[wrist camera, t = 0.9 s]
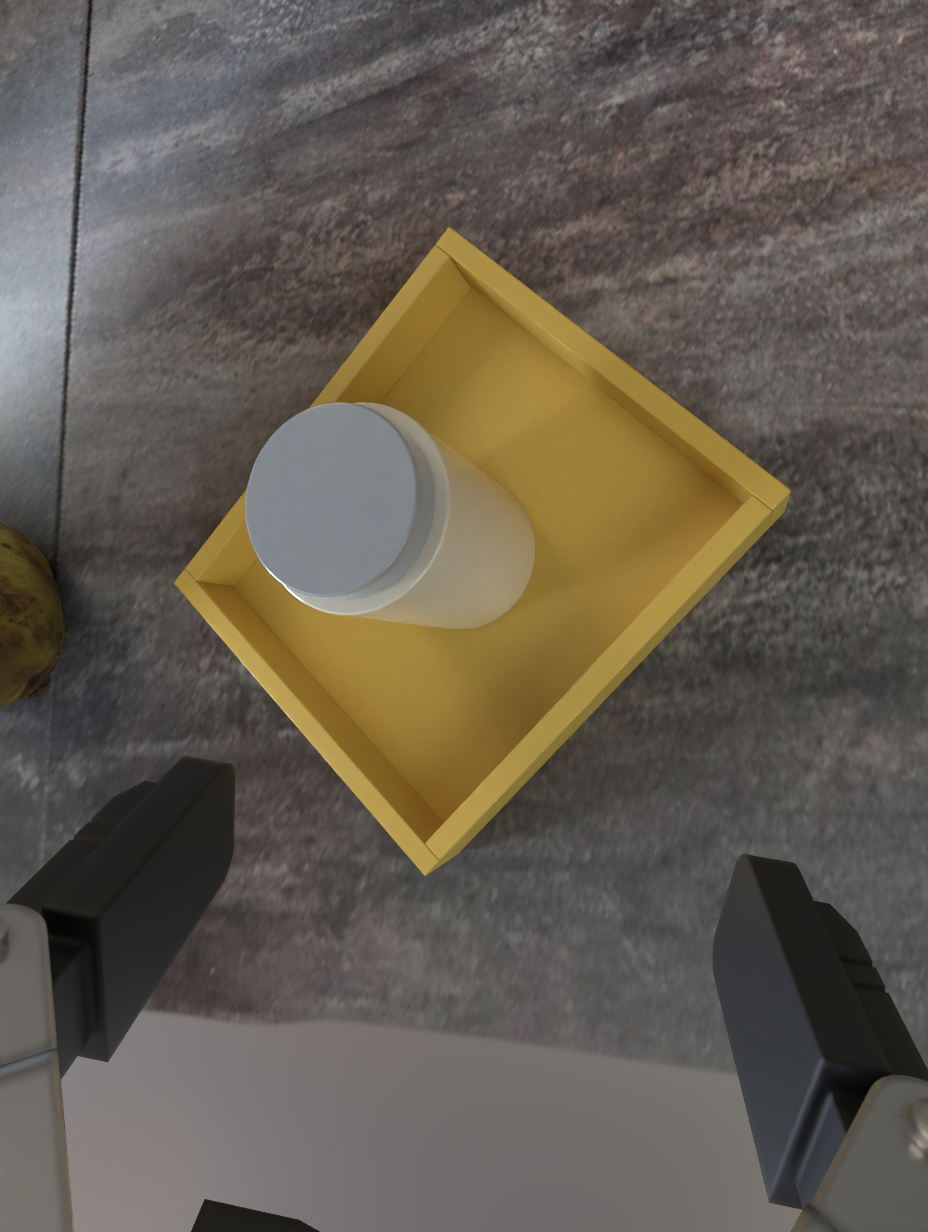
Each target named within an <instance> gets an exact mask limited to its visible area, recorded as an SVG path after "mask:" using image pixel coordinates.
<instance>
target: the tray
mask: <svg viewBox="0 0 928 1232" xmlns="http://www.w3.org/2000/svg"><path fill="white" fill-rule="evenodd" d="M436 245H437V246H436ZM436 245H435V246H434V247H433V248H432V250H431V251H430V252H429V253H428V255H427V256H426V257H425V259H424V260H423V261H422V263H421V264H420V265H419V266H418V268H417V269H416V270H415V272H414V273H413V274H412V275H411V277H410V278H409V279H408V281H407V282H406V283H405V285H404V286H403V287H402V288H401V290H400V291H399V292H398V294H397V295H396V296H395V297H394V299H393V300H392V301H391V303H390V304H389V305H388V307H387V308H386V309H385V310H384V312H383V313H382V314H381V316H380V317H379V318H378V320H377V321H376V322H375V323H374V325H373V326H372V327H371V329H370V330H369V331H368V332H367V334H366V335H365V336H364V338H363V339H362V340H361V342H360V343H359V344H358V345H357V347H356V348H355V349H354V351H353V352H352V353H351V354H350V356H349V357H348V358H347V360H346V361H345V362H344V364H343V365H342V366H341V367H340V369H339V370H338V371H337V373H336V374H335V375H334V376H333V378H332V379H331V380H330V382H329V383H328V384H327V386H326V387H325V388H324V389H323V391H322V392H321V393H320V395H319V396H318V397H317V398H316V400H315V401H314V402H313V404H312V405H311V406H310V408H311V407H314V406H317V405H321V404H325V403H333V402H348V403H357V402H370V403H378V404H383V405H387V406H390V407H392V408H395V409H398V410H400V411H401V412H403V413H405V414H407V415H409V416H410V417H411V418H413V419H414V420H415V421H417V422H418V423H419V424H421V425H422V426H423V427H425V428H426V429H427V430H428V431H430V432H431V433H432V434H434V435H435V436H436V437H438V438H439V439H440V440H442V441H443V442H444V443H446V444H447V445H448V446H450V447H451V448H452V449H453V450H455V451H456V452H457V453H459V454H460V455H461V456H463V457H464V458H465V459H467V460H468V461H469V462H471V463H472V464H473V465H474V466H476V467H477V468H478V469H480V470H481V471H482V472H484V473H485V474H486V475H488V476H489V477H490V478H492V479H493V480H494V481H495V482H497V483H498V484H499V485H501V486H502V487H503V488H505V489H506V490H507V491H509V492H510V493H511V494H512V495H513V496H514V497H515V498H516V499H517V500H518V501H519V502H520V504H521V505H522V507H523V508H524V510H525V511H526V513H527V515H528V517H529V520H530V522H531V525H532V528H533V532H534V537H535V561H534V567H533V571H532V574H531V577H530V580H529V582H528V584H527V587H526V589H525V590H524V592H523V594H522V595H521V597H520V598H519V599H518V601H517V602H516V603H515V604H514V605H513V606H512V607H511V608H510V609H509V610H508V611H507V612H506V613H505V614H503V615H502V616H501V617H499V618H498V619H496V620H494V621H493V622H491V623H489V624H486V625H484V626H481V627H477V628H473V629H466V630H451V629H444V628H436V627H428V626H420V625H412V624H405V623H397V622H389V621H381V620H374V619H366V618H358V617H350V616H343V615H336V614H330V613H326V612H323V611H320V610H317V609H314V608H312V607H310V606H308V605H306V604H304V603H303V602H302V601H300V600H299V599H297V598H296V597H294V596H293V595H292V594H291V593H290V592H289V591H288V590H287V589H286V588H285V587H284V585H283V584H282V583H280V582H279V581H278V580H277V579H276V578H274V577H273V576H272V575H271V574H270V573H269V572H268V570H267V569H266V568H265V567H264V565H263V564H262V563H261V561H260V559H259V558H258V556H257V554H256V552H255V550H254V548H253V546H252V543H251V540H250V537H249V533H248V529H247V523H246V512H245V504H246V492H247V489H246V490H245V492H244V493H243V494H242V496H241V497H240V498H239V499H238V501H237V502H236V503H235V505H234V506H233V507H232V509H231V510H230V511H229V512H228V514H227V515H226V516H225V518H224V519H223V520H222V521H221V523H220V524H219V525H218V527H217V528H216V529H215V531H214V532H213V533H212V534H211V536H210V537H209V538H208V540H207V541H206V542H205V544H204V545H203V546H202V547H201V549H200V550H199V551H198V553H197V554H196V555H195V556H194V558H193V559H192V560H191V562H190V563H189V564H188V566H187V567H186V569H184V570H183V572H182V573H181V574H180V576H179V577H178V578H177V580H176V581H175V582H174V584H175V585H176V586H177V587H178V588H179V590H180V591H181V592H182V593H183V594H184V595H185V597H186V598H187V599H188V600H189V601H190V602H191V604H192V605H193V606H194V607H195V608H196V609H197V611H198V612H199V613H200V614H201V615H202V616H203V618H204V619H205V620H206V621H207V622H208V623H209V625H210V626H211V627H212V628H213V629H214V630H215V632H216V633H217V634H218V635H219V636H220V637H221V639H222V640H223V641H224V642H225V643H226V644H227V646H228V647H229V648H230V649H231V650H232V651H233V653H234V654H235V655H236V656H237V657H238V658H239V660H240V661H241V662H242V663H243V664H244V665H245V667H246V668H247V669H248V670H249V671H250V672H251V674H252V675H253V676H254V677H255V678H256V679H257V681H258V682H259V683H260V684H261V685H262V686H263V688H264V689H265V690H266V691H267V692H268V693H269V695H270V696H271V697H272V698H273V699H274V700H275V702H276V703H277V704H278V705H279V706H280V707H281V709H282V710H283V711H284V712H285V713H286V714H287V715H288V717H289V718H290V719H291V720H292V721H293V722H294V724H295V725H296V726H297V727H298V728H299V729H300V731H301V732H302V733H303V734H304V735H305V736H306V738H307V739H308V740H309V741H310V742H311V743H312V745H313V746H314V747H315V748H316V749H317V750H318V752H319V753H320V754H321V755H322V756H323V757H324V759H325V760H326V761H327V762H328V763H329V764H330V766H331V767H332V768H333V769H334V770H335V771H336V773H337V774H338V775H339V776H340V777H341V778H342V780H343V781H344V782H345V783H346V784H347V785H348V787H349V788H350V789H351V790H352V791H353V792H354V794H355V795H356V796H357V797H358V798H359V799H360V801H361V802H362V803H363V804H364V805H365V806H366V808H367V809H368V810H369V811H370V812H371V813H372V815H373V816H374V817H375V818H376V819H377V820H378V822H379V823H380V824H381V825H382V826H383V827H384V829H385V830H386V831H387V832H388V833H389V834H390V836H391V837H392V838H393V839H394V840H395V841H396V842H397V844H398V845H399V846H400V847H401V848H402V849H403V851H404V852H405V853H406V854H407V855H408V856H409V858H410V859H411V860H412V861H413V862H414V863H415V865H416V866H417V867H418V868H419V869H420V870H421V872H422V873H423V874H424V875H425V876H426V875H427V874H429V873H430V872H432V871H433V870H435V869H436V868H438V867H439V866H441V865H442V864H444V863H445V862H447V861H448V860H450V859H451V858H452V857H454V856H455V855H457V854H458V853H459V852H460V851H461V850H462V849H463V848H464V847H465V846H466V845H467V844H468V843H469V842H470V841H471V840H472V839H473V838H474V837H475V836H476V835H477V834H478V833H479V832H480V830H481V829H482V828H483V827H484V826H485V825H486V824H487V823H488V822H489V821H490V820H491V819H492V818H493V817H494V816H495V815H496V814H497V813H498V812H499V811H500V809H501V808H502V807H503V806H504V805H505V804H506V803H507V802H508V801H509V800H510V799H511V798H512V797H513V796H514V795H515V794H516V793H517V792H518V791H519V790H520V789H521V787H522V786H523V785H524V784H525V783H526V782H527V781H528V780H529V779H530V778H531V777H532V776H533V775H534V774H535V773H536V772H537V771H538V770H539V769H540V768H541V767H542V765H543V764H544V763H545V762H546V761H547V760H548V759H549V758H550V757H551V756H552V755H553V754H554V753H555V752H556V751H557V750H558V749H559V748H560V747H561V746H562V745H563V743H564V742H565V741H566V740H567V739H568V738H569V737H570V736H571V735H572V734H573V733H574V732H575V731H576V730H577V729H578V728H579V727H580V726H581V725H582V724H583V723H584V721H585V720H586V719H587V718H588V717H589V716H590V715H591V714H592V713H593V712H594V711H595V710H596V709H597V708H598V707H599V706H600V705H601V704H602V703H603V702H604V701H605V699H606V698H607V697H608V696H609V695H610V694H611V693H612V692H613V691H614V690H615V689H616V688H617V687H618V686H619V685H620V684H621V683H622V682H623V681H624V680H625V679H626V677H627V676H628V675H629V674H630V673H631V672H632V671H633V670H634V669H635V668H636V667H637V666H638V665H639V664H640V663H641V662H642V661H643V660H644V659H645V658H646V656H647V655H648V654H649V653H650V652H651V651H652V650H653V649H654V648H655V647H656V646H657V645H658V644H659V643H660V642H661V641H662V640H663V639H664V638H665V637H666V636H667V634H668V633H669V632H670V631H671V630H672V629H673V628H674V627H675V626H676V625H677V624H678V623H679V622H680V621H681V620H682V619H683V618H684V617H685V616H686V615H687V614H688V612H689V611H690V610H691V609H692V608H693V607H694V606H695V605H696V604H697V603H698V602H699V601H700V600H701V599H702V598H703V597H704V596H705V595H706V594H707V593H708V592H709V590H710V589H711V588H712V587H713V586H714V585H715V584H716V583H717V582H718V581H719V580H720V579H721V578H722V577H723V576H724V575H725V574H726V573H727V572H728V571H729V570H730V568H731V567H732V566H733V565H734V564H735V563H736V562H737V561H738V560H739V559H740V558H741V557H742V556H743V555H744V554H745V553H746V552H747V551H748V550H749V549H750V548H751V546H752V545H753V544H754V543H755V542H756V541H757V540H758V539H759V538H760V537H761V536H762V535H763V534H764V533H765V532H766V531H767V530H768V529H769V528H770V527H771V526H772V524H773V523H774V522H775V521H776V520H777V519H778V518H779V517H780V516H781V515H782V514H783V513H784V511H785V508H786V506H787V502H788V499H789V495H790V492H791V490H790V489H789V488H788V487H786V486H785V485H784V484H782V483H781V482H780V481H779V480H777V479H776V478H775V477H773V476H772V475H771V474H769V473H768V472H767V471H766V470H764V469H763V468H762V467H760V466H759V465H758V464H756V463H755V462H754V461H753V460H751V459H750V458H749V457H747V456H746V455H745V454H744V453H742V452H741V451H740V450H738V449H737V448H736V447H734V446H733V445H732V444H731V443H729V442H728V441H727V440H725V439H724V438H723V437H721V436H720V435H719V434H718V433H716V432H715V431H714V430H712V429H711V428H710V427H709V426H707V425H706V424H705V423H703V422H702V421H701V420H699V419H698V418H697V417H696V416H694V415H693V414H692V413H690V412H689V411H688V410H686V409H685V408H684V407H683V406H681V405H680V404H679V403H677V402H676V401H675V400H674V399H672V398H671V397H670V396H668V395H667V394H666V393H664V392H663V391H662V390H661V389H659V388H658V387H657V386H655V385H654V384H653V383H651V382H650V381H649V380H648V379H646V378H645V377H644V376H642V375H641V374H640V373H639V372H637V371H636V370H635V369H633V368H632V367H631V366H629V365H628V364H627V363H626V362H624V361H623V360H622V359H620V358H619V357H618V356H616V355H615V354H614V353H613V352H611V351H610V350H609V349H607V348H606V347H605V346H604V345H602V344H601V343H600V342H598V341H597V340H596V339H594V338H593V337H592V336H591V335H589V334H588V333H587V332H585V331H584V330H583V329H581V328H580V327H579V326H578V325H576V324H575V323H574V322H572V321H571V320H570V319H569V318H567V317H566V316H565V315H563V314H562V313H561V312H559V311H558V310H557V309H556V308H554V307H553V306H552V305H550V304H549V303H548V302H546V301H545V300H544V299H543V298H541V297H540V296H539V295H537V294H536V293H535V292H534V291H532V290H531V289H530V288H528V287H527V286H526V285H524V284H523V283H522V282H521V281H519V280H518V279H517V278H515V277H514V276H513V275H511V274H510V273H509V272H508V271H506V270H505V269H504V268H502V267H501V266H500V265H499V264H497V263H496V262H495V261H493V260H492V259H491V258H489V257H488V256H487V255H486V254H484V253H483V252H482V251H480V250H479V249H478V248H476V247H475V246H474V245H473V244H471V243H470V242H469V241H467V240H466V239H465V238H464V237H462V236H461V235H460V234H458V233H457V232H456V231H454V230H453V229H452V228H451V227H448V229H447V230H446V231H445V233H444V234H443V235H442V236H441V238H440V239H439V240H438V242H437V243H436Z"/></svg>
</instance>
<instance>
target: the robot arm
mask: <svg viewBox="0 0 928 1232" xmlns="http://www.w3.org/2000/svg"><path fill="white" fill-rule="evenodd" d="M234 809H235V772H234V768H233V766H232V765H231V764H229V763H224V762H218V761H212V760H206V759H200V758H195V757H189V756H184V757H182V758H181V759H180V760H179V761H178V762H177V763H176V764H175V765H174V766H173V767H172V768H171V769H170V770H169V771H168V772H167V773H166V775H165V776H164V777H163V778H162V779H161V780H160V781H159V782H158V783H152V782H147V781H144V782H142V783H140V784H138V785H136V786H134V787H132V788H130V789H128V790H126V791H124V792H122V793H121V794H119V795H117V796H115V797H113V798H112V799H111V800H110V801H109V802H108V803H107V804H106V805H105V806H104V807H103V808H102V809H101V810H100V811H99V812H98V813H97V814H96V815H95V816H94V817H93V818H92V822H91V823H90V822H88V823H87V824H86V825H85V826H84V827H83V828H82V829H81V830H80V831H79V832H78V833H77V834H76V835H75V837H74V840H70V841H69V842H68V843H67V844H66V845H65V846H64V847H63V848H62V849H61V850H60V851H59V852H57V853H56V854H55V855H54V856H53V857H52V858H51V859H50V860H49V861H48V862H47V863H46V864H45V865H44V866H43V867H42V868H41V869H40V870H39V871H38V872H37V873H36V874H35V875H34V876H33V877H32V878H31V879H30V880H29V881H28V882H27V883H26V884H25V885H24V886H23V887H22V888H21V889H20V890H19V891H18V892H17V893H16V894H15V895H14V896H13V897H12V898H11V899H10V900H9V901H8V902H7V903H6V904H0V1232H74V1226H73V1215H72V1203H71V1192H70V1180H69V1169H68V1158H67V1146H66V1134H65V1123H64V1113H63V1112H64V1111H63V1100H62V1090H61V1079H62V1077H63V1076H64V1075H65V1073H66V1071H67V1070H68V1069H69V1067H70V1066H71V1064H72V1063H73V1062H74V1060H75V1059H76V1057H77V1056H81V1057H85V1058H90V1059H95V1060H100V1061H104V1062H108V1061H109V1060H110V1058H111V1057H112V1055H113V1053H114V1052H115V1050H116V1049H117V1047H118V1046H119V1044H120V1042H121V1041H122V1039H123V1038H124V1036H125V1035H126V1033H127V1032H128V1030H129V1028H130V1027H131V1025H132V1023H133V1022H134V1021H135V1019H136V1018H137V1016H138V1015H139V1013H140V1011H141V1010H142V1008H143V1007H144V1005H145V1004H146V1002H147V1001H148V999H149V997H150V996H151V994H152V993H153V991H154V990H155V988H156V986H157V985H158V983H159V982H160V980H161V979H162V977H163V976H164V974H165V972H166V971H167V969H168V968H169V966H170V965H171V963H172V962H173V960H174V958H175V957H176V955H177V954H178V952H179V951H180V949H181V948H182V946H183V944H184V943H185V941H186V940H187V938H188V937H189V935H190V934H191V932H192V930H193V929H194V927H195V926H196V924H197V923H198V921H199V920H200V918H201V916H202V915H203V913H204V912H205V910H206V909H207V907H208V905H209V904H210V902H211V901H212V899H213V898H214V896H215V895H216V893H217V891H218V890H219V888H220V887H221V885H222V883H223V882H224V879H225V877H226V875H227V872H228V870H229V867H230V863H231V859H232V855H233V848H234ZM713 972H714V978H715V983H716V987H717V991H718V995H719V999H720V1003H721V1007H722V1011H723V1015H724V1019H725V1024H726V1028H727V1032H728V1036H729V1040H730V1044H731V1048H732V1052H733V1056H734V1060H735V1065H736V1069H737V1073H738V1077H739V1081H740V1085H741V1089H742V1093H743V1097H744V1101H745V1105H746V1109H747V1114H748V1118H749V1122H750V1126H751V1130H752V1134H753V1138H754V1142H755V1146H756V1151H757V1155H758V1159H759V1162H760V1167H761V1171H762V1175H763V1179H764V1183H765V1187H766V1192H767V1196H768V1200H769V1203H774V1204H778V1205H783V1206H788V1207H793V1208H797V1209H802V1213H801V1214H800V1216H799V1218H798V1220H797V1221H796V1223H795V1225H794V1227H793V1229H792V1231H791V1232H928V1069H927V1067H926V1065H925V1064H924V1062H923V1060H922V1058H921V1056H920V1054H919V1052H918V1050H917V1048H916V1046H915V1044H914V1042H913V1040H912V1038H911V1036H910V1034H909V1032H908V1030H907V1028H906V1026H905V1024H904V1022H903V1020H902V1018H901V1017H900V1015H899V1013H898V1011H897V1009H896V1007H895V1005H894V1003H893V1001H892V999H891V997H890V995H889V993H885V985H884V983H883V981H882V979H881V977H880V975H879V973H878V972H877V970H876V968H874V967H872V960H871V958H870V956H869V954H868V952H867V950H866V948H865V946H864V944H863V942H862V940H861V938H860V936H859V934H858V932H857V931H856V930H855V929H854V928H853V927H852V926H851V925H850V924H849V923H848V922H847V921H846V920H845V919H844V918H843V917H842V916H841V915H840V914H839V913H838V912H837V911H836V910H835V909H834V908H833V907H832V906H831V905H830V904H828V903H822V902H816V901H813V899H812V896H811V894H810V892H809V890H808V888H807V886H806V883H805V881H804V879H803V877H802V875H801V872H800V870H799V868H798V867H797V865H796V864H794V863H792V862H786V861H781V860H775V859H769V858H763V857H757V856H752V855H746V854H743V855H741V856H740V857H739V859H738V860H737V863H736V865H735V868H734V872H733V875H732V878H731V882H730V885H729V889H728V892H727V896H726V899H725V902H724V906H723V909H722V913H721V916H720V919H719V923H718V926H717V930H716V933H715V938H714V945H713ZM191 1232H319V1231H318V1230H316V1229H314V1228H312V1227H311V1226H309V1225H307V1224H305V1223H303V1222H302V1221H300V1220H298V1219H293V1218H289V1217H284V1216H279V1215H275V1214H270V1213H266V1212H261V1211H257V1210H252V1209H247V1208H243V1207H238V1206H234V1205H229V1204H225V1203H220V1202H215V1201H211V1200H207V1199H205V1200H204V1202H203V1205H202V1207H201V1210H200V1212H199V1214H198V1216H197V1219H196V1221H195V1224H194V1226H193V1228H192V1231H191Z"/></svg>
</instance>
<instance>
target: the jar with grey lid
mask: <svg viewBox="0 0 928 1232" xmlns="http://www.w3.org/2000/svg"><path fill="white" fill-rule="evenodd" d="M245 512H246V523H247V529H248V533H249V537H250V540H251V543H252V546H253V548H254V550H255V552H256V554H257V556H258V558H259V559H260V561H261V563H262V564H263V565H264V567H265V568H266V569H267V570H268V572H269V573H270V574H271V575H272V576H273V577H274V578H276V579H277V580H278V581H279V582H280V583H282V584H283V585H284V587H285V588H286V589H287V590H288V591H289V592H290V593H291V594H292V595H293V596H294V597H296V598H297V599H299V600H300V601H302V602H303V603H304V604H306V605H308V606H310V607H312V608H314V609H317V610H320V611H323V612H326V613H330V614H336V615H343V616H350V617H358V618H366V619H374V620H381V621H389V622H397V623H405V624H412V625H420V626H428V627H436V628H444V629H451V630H466V629H473V628H477V627H481V626H484V625H486V624H489V623H491V622H493V621H494V620H496V619H498V618H499V617H501V616H502V615H503V614H505V613H506V612H507V611H508V610H509V609H510V608H511V607H512V606H513V605H514V604H515V603H516V602H517V601H518V599H519V598H520V597H521V595H522V594H523V592H524V590H525V589H526V587H527V584H528V582H529V580H530V577H531V574H532V571H533V567H534V561H535V537H534V532H533V528H532V525H531V522H530V520H529V517H528V515H527V513H526V511H525V510H524V508H523V507H522V505H521V504H520V502H519V501H518V500H517V499H516V498H515V497H514V496H513V495H512V494H511V493H510V492H509V491H507V490H506V489H505V488H503V487H502V486H501V485H499V484H498V483H497V482H495V481H494V480H493V479H492V478H490V477H489V476H488V475H486V474H485V473H484V472H482V471H481V470H480V469H478V468H477V467H476V466H474V465H473V464H472V463H471V462H469V461H468V460H467V459H465V458H464V457H463V456H461V455H460V454H459V453H457V452H456V451H455V450H453V449H452V448H451V447H450V446H448V445H447V444H446V443H444V442H443V441H442V440H440V439H439V438H438V437H436V436H435V435H434V434H432V433H431V432H430V431H428V430H427V429H426V428H425V427H423V426H422V425H421V424H419V423H418V422H417V421H415V420H414V419H413V418H411V417H410V416H409V415H407V414H405V413H403V412H401V411H400V410H398V409H395V408H392V407H390V406H387V405H383V404H378V403H370V402H357V403H348V402H333V403H325V404H321V405H317V406H314V407H311V408H309V409H306V410H304V411H302V412H300V413H298V414H296V415H295V416H293V417H292V418H290V419H289V420H288V421H286V422H285V423H284V424H283V425H282V426H281V427H280V428H278V429H277V430H276V431H275V433H274V434H273V435H272V436H271V437H270V438H269V440H268V441H267V442H266V444H265V445H264V447H263V448H262V450H261V452H260V454H259V455H258V457H257V459H256V461H255V464H254V466H253V469H252V471H251V475H250V478H249V482H248V486H247V492H246V504H245Z"/></svg>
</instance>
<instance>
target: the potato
mask: <svg viewBox="0 0 928 1232" xmlns="http://www.w3.org/2000/svg"><path fill="white" fill-rule="evenodd" d="M59 592H60V591H59V589H58V586H57V583H56V582H55V579H54V578H53V574H52V570H51V568H50V565H49V563H48V561H47V559H46V558H45V556H44V554H43V553H42V552H41V551H40V550H39V548H38V547H37V546H36V545H35V544H33V543H32V542H31V541H30V540H29V539H27V538H26V537H25V536H24V535H22V534H21V533H19V532H17V531H16V530H14V529H12V528H10V527H9V526H7V525H5V524H3V523H0V707H4V706H8V705H10V704H13V703H15V702H17V701H19V700H21V699H22V698H24V697H27V698H35V697H40V695H41V694H42V695H43V694H44V691H45V688H46V687H47V686H48V685H49V684H50V682H51V679H50V678H48V676H49V675H50V673H51V672H52V670H53V669H54V667H55V664H56V662H57V661H58V658H59V656H61V655H62V653H63V651H64V645H65V644H66V643H67V641H66V638H65V633H64V632H65V612H64V608H63V602H62V599H61V597H60V594H59Z"/></svg>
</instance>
